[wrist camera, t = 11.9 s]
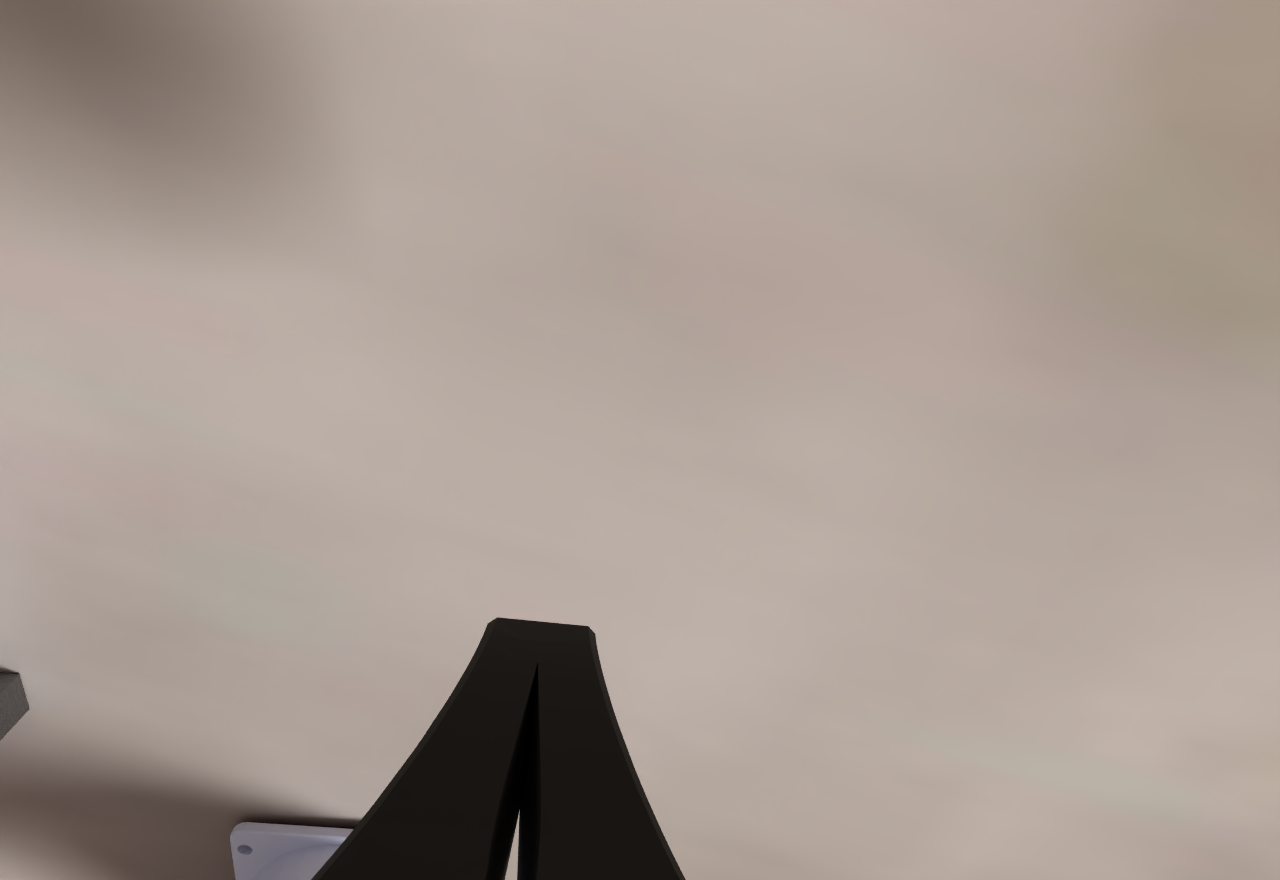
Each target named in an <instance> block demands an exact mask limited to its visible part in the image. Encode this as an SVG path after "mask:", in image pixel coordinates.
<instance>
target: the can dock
mask: <svg viewBox="0 0 1280 880" xmlns="http://www.w3.org/2000/svg"><path fill="white" fill-rule="evenodd" d="M28 710H29V707H28V703H27V700H26V696H25V693H24V689H23V686H22V682H21V679H20V675H19V674H9V673H0V740H1V739H2V738H3V737H4V736H5V735H6V734H7V733H8V732H9V731H10V730H11V728H12V727H13V726H14V725H15V724H16V723H17V722H18V721H19V720H20V719H21V718H22V717H23V715H24V714H25V713H26V712H27V711H28Z"/></svg>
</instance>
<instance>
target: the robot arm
mask: <svg viewBox="0 0 1280 880" xmlns="http://www.w3.org/2000/svg"><path fill="white" fill-rule="evenodd" d="M519 810H520V817H519V846H518V874H517V880H685V878H684V876H683V874H682V872H681V870H680V868H679V866H678V864H677V862H676V860H675V858H674V856H673V854H672V852H671V850H670V848H669V845H668V843H667V841H666V839H665V837H664V835H663V833H662V831H661V828H660V826H659V824H658V822H657V820H656V817H655V815H654V813H653V811H652V808H651V806H650V804H649V802H648V799H647V797H646V795H645V792H644V790H643V788H642V785H641V783H640V780H639V778H638V776H637V773H636V771H635V768H634V765H633V763H632V760H631V757H630V755H629V752H628V749H627V747H626V744H625V741H624V739H623V736H622V733H621V731H620V728H619V725H618V722H617V719H616V716H615V713H614V710H613V707H612V704H611V701H610V697H609V694H608V691H607V687H606V684H605V680H604V676H603V673H602V669H601V664H600V660H599V655H598V650H597V645H596V637H595V633H594V632H593V631H592V630H591V629H590V628H589V627H588V626H580V625H569V624H559V623H549V622H538V621H528V620H517V619H507V618H496V619H494V620H493V621H491V622H490V623H488V625H487V627H486V630H485V632H484V635H483V637H482V639H481V641H480V643H479V646H478V648H477V650H476V652H475V654H474V656H473V657H472V659H471V661H470V663H469V665H468V667H467V668H466V670H465V672H464V674H463V675H462V677H461V679H460V680H459V682H458V684H457V685H456V687H455V689H454V691H453V692H452V694H451V696H450V697H449V699H448V700H447V702H446V703H445V705H444V706H443V708H442V709H441V711H440V712H439V714H438V715H437V717H436V718H435V720H434V721H433V723H432V724H431V726H430V728H429V729H428V731H427V732H426V734H425V735H424V737H423V738H422V740H421V741H420V742H419V744H418V745H417V747H416V748H415V750H414V751H413V752H412V754H411V755H410V756H409V758H408V759H407V760H406V762H405V763H404V764H403V766H402V767H401V769H400V770H399V771H398V773H397V774H396V775H395V777H394V778H393V779H392V781H391V782H390V783H389V785H388V786H387V787H386V789H385V790H384V791H383V793H382V794H381V795H380V797H379V798H378V799H377V801H376V802H375V803H374V805H373V806H372V807H371V808H370V810H369V811H368V812H367V813H366V815H365V816H364V817H363V818H362V820H361V821H360V822H359V823H358V825H357V826H356V827H355V828H354V829H346V828H330V827H315V826H300V825H285V824H270V823H254V822H242V823H240V824H237V825H236V826H235V827H234V829H233V831H232V833H231V835H230V844H231V851H232V859H233V866H234V873H235V880H505V875H506V871H507V866H508V861H509V857H510V852H511V847H512V843H513V838H514V833H515V829H516V824H517V819H518V814H519Z"/></svg>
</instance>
